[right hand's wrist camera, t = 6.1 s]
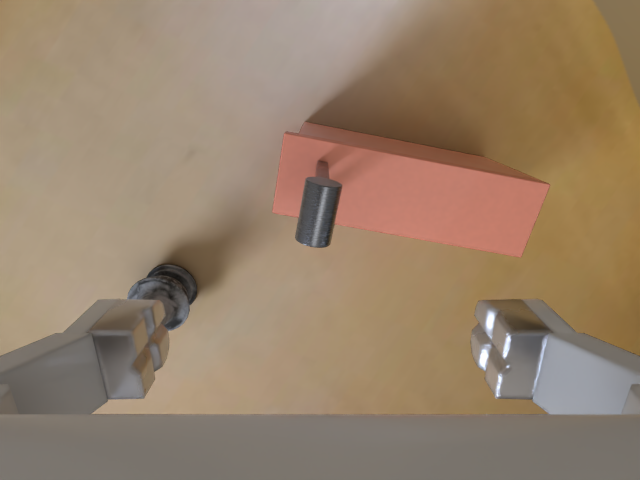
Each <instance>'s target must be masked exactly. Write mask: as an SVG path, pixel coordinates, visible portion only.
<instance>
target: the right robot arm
mask: <svg viewBox="0 0 640 480" xmlns="http://www.w3.org/2000/svg"><path fill="white" fill-rule="evenodd" d="M165 316H166V315H165V310H164V305H163V303H162V302H161V301H160V300H134V299H122V300H121V299H102V300H97V301H96V302H95V303H94V304H93V305H92V306H91V307H90V308H89V309H88V310H87V311H86V312H85V313H84V314H82V315H81V316H80V317H79V318H78V319H77V320H76V321H75V322H74V323H73V324H72V325H71V326H70V327H69V328H67V329H66V330H65V331H64V332H63V333H55V334H53V335H50V336H48V337H46V338H43V339H41V340H38V341H36V342H33V343H31V344H29V345H26V346H24V347H21V348H19V349H16V350H14V351H12V352H9V353H7V354H4V355H2V356H0V480H640V356H638V355H636V354H633V353H631V352H628V351H626V350H624V349H621V348H619V347H616V346H614V345H611V344H609V343H607V342H604V341H602V340H599V339H597V338H594V337H592V336H590V335H587V334H585V333H577V332H576V331H575V330H574V329H573V328H571V327H570V326H569V325H568V324H567V323H566V322H565V321H564V320H563V319H562V318H561V317H560V316H559V315H558V314H557V313H555V312H554V311H553V310H552V309H551V308H550V307H549V306H548V305H547V304H546V303H545V302H544V301H543V300H540V299H511V300H481V301H478V303H477V305H476V309H475V315H474V316H475V317H476V319H477V320H478V322H479V324H478V325H477V326H476V327H475V328H474V329H473V330H472V334H471V351H472V355H473V358H474V361H475V363H476V364H477V366H478V367H479V368H481V369H482V370H484V371H485V372H486V374H485V380H486V382H487V384H488V386H489V387H490V389H491V391H492V392H493V394H494V396H495V398H497V399H533V400H532V401H533V402H534V403H535V404H537V405H538V406H539V407H541V408H542V409H543V410H545V411H546V412H547V413H549V414H91V413H93V412H94V411H95V410H97V409H98V408H99V407H101V406H102V405H103V404H105V403H106V402H107V401H108V400H107V399H142V398H145V396H146V394H147V393H148V391H149V389H150V387H151V386H152V384H153V382H154V380H155V374H154V372H155V371H156V370H158V369H159V368H161V367H162V366H163V364H164V363H165V361H166V359H167V355H168V350H169V334H168V330H167V329H166V328H165V327H164V326H163V325H162V324H161V322H162V320H163V319H164V317H165Z"/></svg>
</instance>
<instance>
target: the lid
mask: <svg viewBox="0 0 640 480" xmlns="http://www.w3.org/2000/svg"><path fill="white" fill-rule="evenodd" d="M549 187H550V184H548V183H546V182H543V181H540V180H535V179H530V178H525V177H520V176H514V175H509V174H504V173H499V172H494V171H489V170H483V169H478V168H473V167H468V166H463V165H458V164H452V163H447V162H442V161H437V160H432V159H427V158H421V157H416V156H411V155H406V154H401V153H396V152H390V151H385V150H380V149H375V148H370V147H365V146H360V145H354V144H349V143H344V142H339V141H334V140H329V139H323V138H318V137H313V136H308V135H303V134H298V133H292V132H287V131H286V132H285V133H284V138H283V144H282V151H281V158H280V164H279V171H278V177H277V184H276V191H275V197H274V204H273V210H272V212H273V213H276V214H281V215H287V216H292V217H298V224H297V229H296V235H295V238H296V240H297V241H298V242H300V243H301V244H304V245H307V246H310V247H317V248H322V247H327V246H329V245H330V243H331V238H332V233H333V229H334V224H337V225H343V226H348V227H354V228H359V229H365V230H370V231H376V232H381V233H387V234H393V235H398V236H404V237H409V238H415V239H420V240H426V241H432V242H437V243H443V244H448V245H454V246H459V247H465V248H470V249H476V250H482V251H487V252H493V253H498V254H504V255H509V256H515V257H522V254H523V252H524V249H525V247H526V244H527V242H528V239H529V237H530V234H531V232H532V229H533V227H534V224H535V222H536V219H537V217H538V214H539V212H540V209H541V207H542V204H543V202H544V200H545V197H546V195H547V192H548V190H549Z"/></svg>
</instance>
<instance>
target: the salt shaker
mask: <svg viewBox="0 0 640 480" xmlns="http://www.w3.org/2000/svg"><path fill="white" fill-rule="evenodd" d="M196 294H197V286H196V283H195V280H194V279H193V277H192V276H191V275H190V274H189V273H188V272H187V271H186V270H184V269H182V268H181V267H178V266H175V265H161V266H158V267H156V268H154V269H153V270H152V271H151V272H150V273H149V274H148V276H147V278H144V279H142V280H140V281H138V282H137V283H136V284H134V285H133V286H132V288H131V289H130V291H129V293H128V297H127V299H134V300H160V301H161V302H162V303H163V305H164V310H165V315H166V316H165V317H164V319H163V320H162V322H161V324H162V325H163V326H164V327H165V328H166V329H167V330H168V331H171V330H174V329H176V328H178V327H180V326H181V325H182V324H183V323H184V322H185V320H186V319H187V317H188V314H189V311H190V308H189V305H191V304H192V303H193V301H194V300H195V298H196Z"/></svg>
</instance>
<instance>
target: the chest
mask: <svg viewBox="0 0 640 480" xmlns="http://www.w3.org/2000/svg"><path fill="white" fill-rule="evenodd" d="M299 134H303V135H308V136H313V137H318V138H323V139H329V140H334V141H339V142H344V143H349V144H354V145H360V146H365V147H370V148H375V149H380V150H385V151H390V152H396V153H401V154H406V155H411V156H416V157H421V158H427V159H432V160H437V161H442V162H447V163H452V164H458V165H463V166H468V167H473V168H478V169H483V170H489V171H494V172H499V173H504V174H509V175H514V176H520V177H525V178H530V179H535V180H539V179H536V178H534V177H532V176H529V175H527V174H524V173H522V172H519V171H517V170H515V169H512V168H510V167H507V166H505V165H503V164H500V163H498V162H495V161H493V160H491V159H488V158H486V157H482V156H477V155H472V154H467V153H462V152H457V151H452V150H446V149H441V148H436V147H431V146H426V145H421V144H416V143H411V142H406V141H401V140H395V139H390V138H385V137H380V136H375V135H370V134H365V133H360V132H355V131H349V130H344V129H339V128H334V127H329V126H324V125H319V124H314V123H309V122H304V124H303V126H302V128H301V130H300V132H299ZM540 181H541V180H540Z"/></svg>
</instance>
